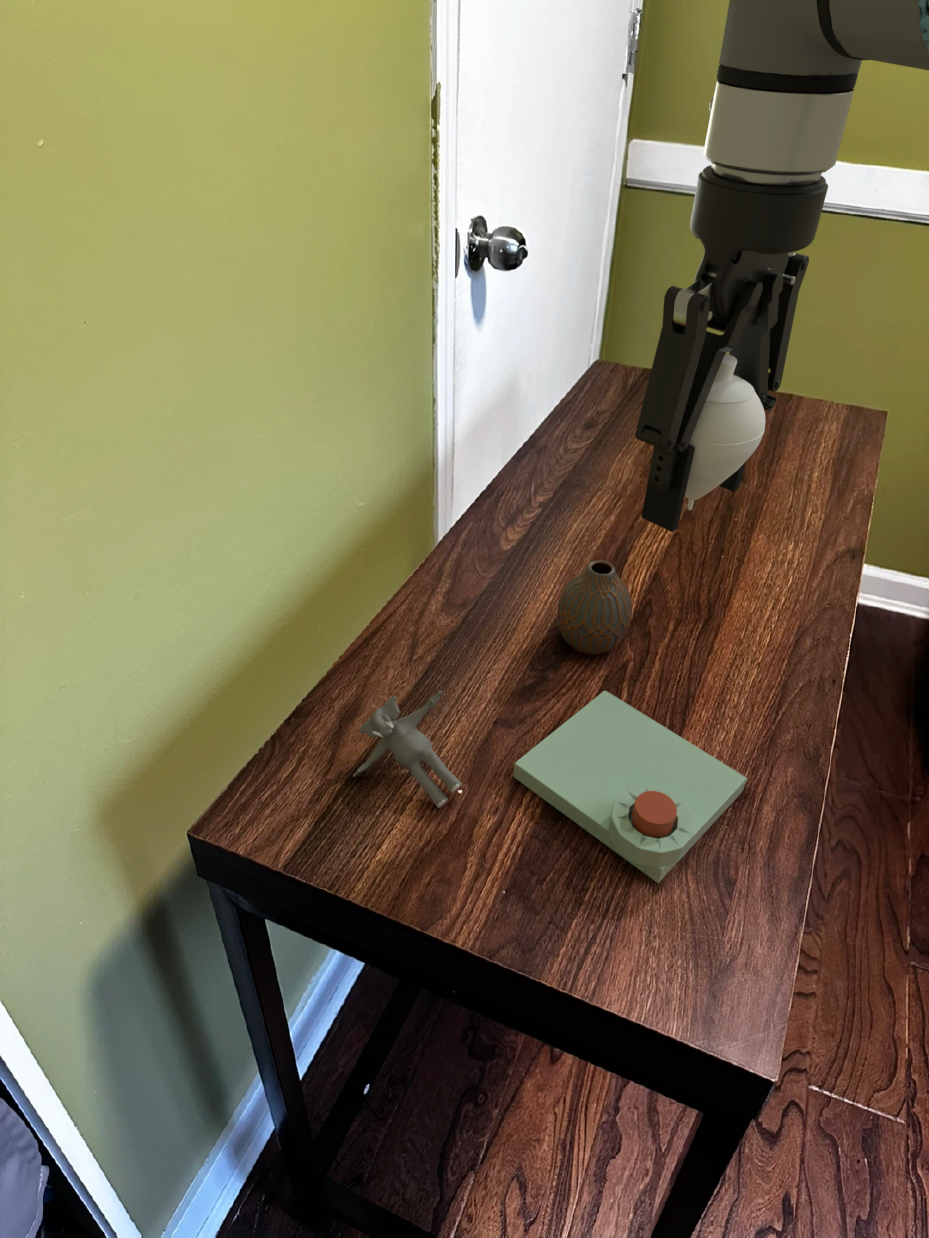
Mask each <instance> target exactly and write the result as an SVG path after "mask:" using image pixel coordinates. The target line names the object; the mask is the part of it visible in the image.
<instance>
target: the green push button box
mask: <svg viewBox="0 0 929 1238" xmlns="http://www.w3.org/2000/svg"><path fill="white" fill-rule="evenodd" d="M512 777H513V778H514V779H515V780H516V781H518V782H520V783H521V784H522V785H524V786H525V787H526V788H528V789H529V790H530V791H532V792H533V793H534V794H536V795H537V796H538V797H540V798H541V799H543V800H544V801H545V802H547V803H548V804H549V805H550V806H551V807H553V808H555V809H556V810H557V811H559V812H561V814H563V815H565V816H566V817H567V818H568V819H569V820H571V821H572V822H574V823H576V825H578V826H579V827H581V828H582V829H583V830H585V831H586V832H587V833H588V834H590V835H592V837H594V838H596V839H597V840H598V841H600V842H601V843H603V844H604V846H607V847H608V848H610V849H611V850H612V851H613V852H615V854H617V855H619V856H620V857H621V858H623V859H624V860H625V861H626V862H628V863H630V864H631V865H632V866H634V867H635V868H636V869H638V870H639V871H641V872H642V873H643V874H645V875H646V876H647V877H649V878H650V879H651V880H653V881H654V882H655V883H657V884H659V883H660V882H661V881H662V880H663V879H664V878H665V877H666V876H667V874H668V873H669V872H670V871H671V870H672V869H673V868H674V867H675V866H676V865H677V864H678V863H679V862H680V860H682V858H683V857H684V856H685V855H686V854H687V853H688V852H689V850H691V848H693V846H694V845H695V844H696V843H697V842H698V841H699V840H700V838H702V836H703V835H704V834H705V833H706V832H707V831H708V830H709V829H710V828H711V826H713V825H714V823H715V822H716V821H717V820H718V819H719V818H720V817H721V816H722V815H723V814H724V813H725V811H727V809H728V808H729V807H730V806H731V805H732V803H734V802H735V800H736V799H737V798H738V797H739V796H740V795H741V794H742V793H743V791H744V789H745V785H746V783H747V780H748V777H746V776H745V775H743V774H741V773H740V772H738V771H737V770H735V769H734V768H732V767H731V766H729V765H727V764H725V763H724V762H722V761H721V760H719V759H717V758H716V757H714V756H713V755H711V754H709V753H707V752H706V751H704V750H703V749H701V748H699V747H698V746H696V745H695V744H693V743H691V742H689V741H688V740H686V739H685V738H683V737H682V736H680V735H678V734H676V733H675V732H674V731H672V730H671V729H669V728H668V727H665V726H664V725H662V724H660V723H659V722H657V721H656V720H654V719H652V718H651V717H649V716H647V715H646V714H644V713H643V712H641V711H639V710H638V709H636V708H634V707H633V706H632V705H630V704H628V703H627V702H625V701H624V700H622V699H620V698H619V697H617V696H615V695H614V694H612V693H610V692H609V691H607V690H603V691H602V692H600V694H598V695H597V696H596V697H595V698H593V699H592V700H591V701H589V702H588V703H587V704H585V706H583V707H582V708H581V709H580V710H578V711H577V712H575V714H573V715H572V716H571V717H569V718H568V719H567V720H566V721H565V722H563V723H562V724H561V725H560V726H558V728H556V729H555V730H554V731H553V732H551V733H550V734H549V735H547V736H546V737H545V738H544V739H542V740H541V741H540V742H538V744H536V745H535V746H534V747H532V749H529V751H528V752H526V753H525V754H524V755H522V756H521V757H520V758H519V759H518V760H517V761H515V762H514V764H513V776H512ZM647 791H657V792H661V793H663V794H665V795H667V796H668V797H670V798H671V799H672V800H673V802H674V803H675V805H676V808H677V814H676V818H675V821H674V825H673V828H672V830H671V831H670V832H669V833H668V834H667V835H665V836H663V837H649V836H646V835H644V834H642V833H641V832H639V831H638V830H637V829H636V828H635V826H634V825H633V822H632V812H633V808H634V804H635V800H636V798H637V797H638V796H639V795H640V794H641V793H644V792H647Z"/></svg>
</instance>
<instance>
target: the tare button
mask: <svg viewBox="0 0 929 1238" xmlns="http://www.w3.org/2000/svg"><path fill="white" fill-rule="evenodd" d="M676 814H677V808H676V805H675V803H674V802H673V800H672V799H671V798H670V797H668V796H667V795H665V794H663V793H661V792H657V791H647V792H644V793H641V794H640V795H639V796H638V797H637V798H636V800H635V804H634V808H633V812H632V822H633V825H634V826H635V828H636V829H637V830H638V831H639V832H641V833H642V834H644V835H646V836H649V837H663V836H665V835H667V834H668V833H669V832H670V831H671V830H672V828H673V825H674V821H675V818H676Z"/></svg>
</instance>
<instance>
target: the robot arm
mask: <svg viewBox="0 0 929 1238" xmlns="http://www.w3.org/2000/svg"><path fill="white" fill-rule="evenodd" d="M863 61H874V62H879V63H885V64H891V65H896V66H901V67H908V68H913V69H918V70H924V71H929V0H729V2H728V8H727V13H726V19H725V25H724V31H723V36H722V42H721V48H720V55H719V60H718V68H717V73H716V79H717V80H716V84H715V89H714V93H713V96H712V98H711V99H710V100H709V106H708V110H709V111H710V114H709V115H710V116H709V121H708V127H707V132H706V137H705V141H704V142H705V143H704V148H703V152H702V154H703V156H704V157H705V158H706V160H707V161H708V162H710V163H711V164H709V165H708V166H705V167H704V168H703V169H702V171H701V172H699V173H698V177H697V182H696V188H695V193H694V199H693V204H692V211H691V215H690V220H689V229H690V231H691V234H692V235H693V236H694V237H695V238H696V239H698V240H699V241H700V242H701V245H702V246H703V249H704V253H703V255H702V258H701V261H700V264H699V266H698V268H697V271H696V273H695V275H694V280H693V281H694V282H693V283H691V284H690V285H689V286H687V287H686V288H681V287H678V286H675V285H671V286H669V287H668V289H667V290H666V292H665V294H664V297H663V309H662V324H661V325H662V326H661V330H660V334H659V338H658V342H657V346H656V350H655V353H654V358H653V361H652V366H651V370H650V373H649V378H648V382H647V385H646V390H645V393H644V397H643V401H642V405H641V409H640V414H639V417H638V420H637V426H636V429H635V434H634V436H635V437H634V438H635V439H636V440H639V441H640V442H642V443H645V444H648V445H650V446H652V447H653V450H652V455H651V460H650V467H649V472H648V477H647V484H646V488H645V489H646V490H645V496H644V500H643V505H642V510H641V511H642V512H641V515H640V516H641V519H643V520H646V521H647V522H650V523H652V524H654V525H656V526H658V527H660V528H663V529H664V530H666V531H668V532H671V533H673V532H675V531H676V530H678V529H679V526H680V525H679V524H680V521H681V516H682V511H683V506H684V501H685V498H686V496H685V493H686V488H687V483H688V479H689V474H690V469H691V465H692V460H693V455H694V451H695V447H694V446H691V445H689V442H690V439H691V437H692V434H693V432H694V429H695V427H696V424H697V422H698V419H699V417H700V414H701V412H702V410H703V407H704V405H705V402H706V400H707V397H708V395H709V392H710V390H711V387H712V385H713V382H714V380H715V378H716V375H717V373H718V370H719V368H720V365H721V363H722V360H723V358H724V355H725V354H728V353H729V355H732V356H734V357H735V358H736V359H737V364H736V367H735V370H734V373H733V375H735V376H738V377H740V378H742V379H743V380H745V381H747V382H748V383H749V384H751V385H752V386H753V388H754V390H755V393H756V394H757V396H758V397H759V399H760V401H761V403H762V405H763V408H764V411H768V412H770V411H771V410H773V409H774V407H775V405H776V403H777V398H778V397H777V396H773V395H771V394H768V392H772V393H776V392H777V391H778V390H779V389H780V387H781V384H782V380H783V375H784V370H785V366H786V361H787V360H786V359H787V354H788V349H789V345H790V338H791V334H792V330H793V324H794V319H795V314H796V309H797V304H798V299H799V293H800V290H801V287H802V284H803V281H804V278H805V275H806V273H807V270H808V266H809V263H810V256H808V255H806V254H801V253H798V251H801V250H804V249H806V248H807V247H809V246H810V245H811V244H812V243H813V241H814V240H815V238H816V235H817V231H818V227H819V223H820V219H821V215H822V212H823V208H824V205H825V201H826V196H827V193H828V189H829V184H828V182H827V180H826V178H825V177H824V176H823V175H822V173H827V172H828V171H829V170H831V169H832V168H834V167H835V166H836V163H837V159H838V155H839V152H840V147H841V144H842V140H843V135H844V131H845V128H846V125H847V120H848V116H849V111H850V108H851V104H852V100H853V96H854V93H855V89H854V88H855V87H856V83H857V80H858V77H859V73H860V69H861V65H862V62H863ZM707 329H711V330H714V331H716V332H722V334H718V333H714V332H711V331H708V330H707ZM745 466H746V462H745V463H744V464H743V465H742V466H741V467H740V468H739V469H738V470H737V471H736V472H735V473H733V474H732V475H731V476H730V477H729V478H727V479H726V480H725V481H724V482H722V483H721V484H720V485H719V486H718V487H721V488H723V489H726V490H728V491H730V492H733V493H734V492H736V491H738V490H739V489H740V485H741V481H742V478H743V474H744V469H745Z"/></svg>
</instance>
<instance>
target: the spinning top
mask: <svg viewBox="0 0 929 1238" xmlns="http://www.w3.org/2000/svg"><path fill="white" fill-rule="evenodd" d="M736 364H737V359H736V358H735V357H734V356H732V355H729V354H728V353H726V354H725V355H724V358H723V360H722V363H721V365H720V368H719V370H718V373H717V375H716V378H715V380H714V382H713V385H712V387H711V390H710V392H709V395H708V397H707V400H706V402H705V405H704V407H703V410H702V412H701V414H700V417H699V419H698V422H697V424H696V427H695V429H694V432H693V434H692V437H691V439H690V442H689V445H691V446H694V447H695V451H694V455H693V460H692V465H691V469H690V474H689V479H688V483H687V488H686V493H685V498H686V499H687V500H688V502H687V506H686V507H687V508H686V509H687V510H688V511H692V510H693V507H694V503H695V501H697V500H699V499H701V498H703V497H704V496H706V495H708V494H709V493H710V492H712V491H713V490H715V489H716V488H717V487H720V486H719V485H720V484H721V483H722V482H724V481H725V480H726V479H727V478H729V477H730V476H731V475H732V474H733V473H735V472H736V471H737V470H738V469H739V468H740V467H741V466H742V465H743V464H744V463H745V464H746V462H747V461H748V460H749V458H750V457H752V455H753V454H754V453H755V451H756V450H757V449H758V447H759V445H760V444H761V441H762V439H763V436H764V434H765V430H766V422H767V421H766V412H765V409H764V408H763V405H762V403H761V401H760V399H759V397H758V396H757V394H756V393H755V390H754V388H753V386H752V385H751V384H749V383H748V382H747V381H745V380H743V379H742V378H740V377H738V376H735V375H733V373H734V370H735V367H736Z"/></svg>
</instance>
